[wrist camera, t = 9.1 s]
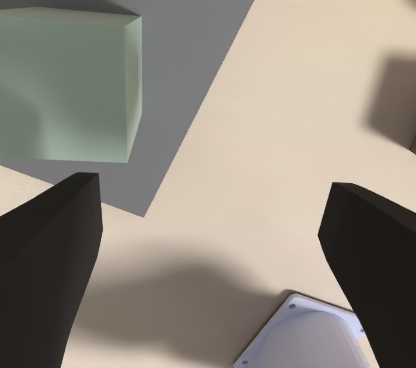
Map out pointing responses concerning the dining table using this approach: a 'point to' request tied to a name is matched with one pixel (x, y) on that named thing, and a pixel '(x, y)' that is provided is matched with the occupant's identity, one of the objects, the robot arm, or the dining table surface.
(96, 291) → the dining table surface
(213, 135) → the dining table surface
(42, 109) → the sage block
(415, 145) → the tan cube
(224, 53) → the slate board
